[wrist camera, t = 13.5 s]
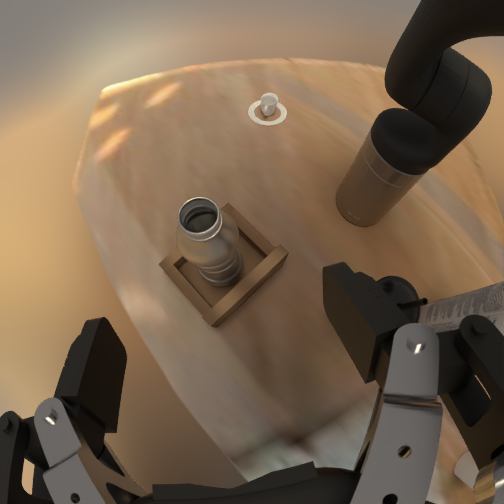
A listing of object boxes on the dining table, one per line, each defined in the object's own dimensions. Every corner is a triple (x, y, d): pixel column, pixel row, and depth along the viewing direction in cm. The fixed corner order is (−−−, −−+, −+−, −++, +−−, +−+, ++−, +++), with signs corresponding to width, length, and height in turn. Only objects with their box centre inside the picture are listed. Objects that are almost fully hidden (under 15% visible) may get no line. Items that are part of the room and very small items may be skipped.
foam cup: (445, 487, 30) (479, 508, 17) (451, 456, 32) (490, 473, 20) (475, 469, 30) (510, 483, 18) (481, 437, 33) (519, 448, 20)
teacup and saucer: (265, 94, 55) (265, 81, 51) (295, 110, 54) (298, 96, 50) (240, 115, 53) (239, 102, 49) (272, 132, 52) (273, 119, 48)
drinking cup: (322, 307, 42) (377, 285, 23) (362, 285, 43) (432, 248, 24) (343, 350, 40) (412, 358, 21) (382, 326, 41) (462, 314, 22)
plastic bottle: (243, 290, 42) (235, 253, 23) (198, 287, 42) (155, 249, 23) (245, 249, 44) (240, 183, 24) (202, 247, 44) (167, 182, 25)
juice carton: (395, 354, 39) (524, 356, 13) (418, 298, 42) (539, 256, 16) (429, 372, 38) (551, 381, 12) (450, 319, 41) (567, 293, 15)
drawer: (229, 212, 46) (226, 193, 40) (283, 264, 44) (288, 252, 37) (165, 269, 43) (151, 258, 37) (216, 327, 41) (210, 326, 35)
